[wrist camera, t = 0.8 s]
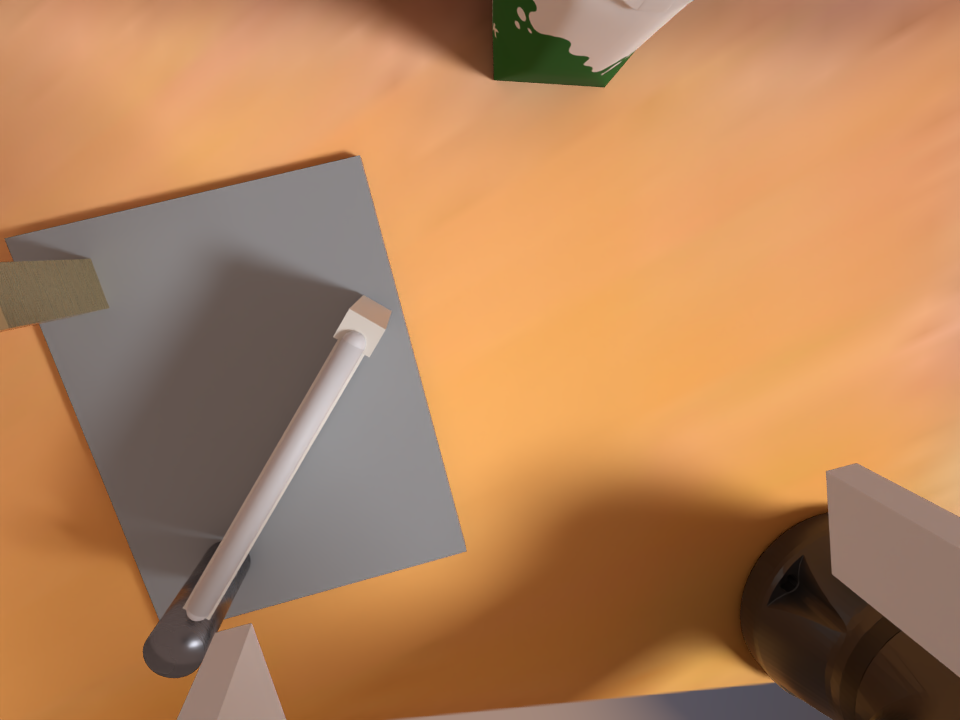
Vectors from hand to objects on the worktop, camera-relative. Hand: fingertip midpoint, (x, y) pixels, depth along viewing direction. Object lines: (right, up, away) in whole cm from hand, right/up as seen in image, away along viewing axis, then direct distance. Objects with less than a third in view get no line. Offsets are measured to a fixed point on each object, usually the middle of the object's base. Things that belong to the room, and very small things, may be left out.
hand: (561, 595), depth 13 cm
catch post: (-26, +10, +23) cm, 36 cm away
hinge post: (-19, -8, +27) cm, 34 cm away
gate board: (-16, +2, +25) cm, 30 cm away
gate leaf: (-13, +1, +25) cm, 28 cm away
